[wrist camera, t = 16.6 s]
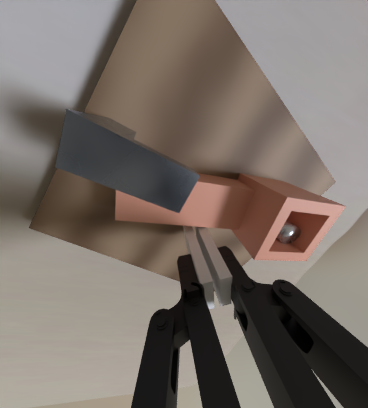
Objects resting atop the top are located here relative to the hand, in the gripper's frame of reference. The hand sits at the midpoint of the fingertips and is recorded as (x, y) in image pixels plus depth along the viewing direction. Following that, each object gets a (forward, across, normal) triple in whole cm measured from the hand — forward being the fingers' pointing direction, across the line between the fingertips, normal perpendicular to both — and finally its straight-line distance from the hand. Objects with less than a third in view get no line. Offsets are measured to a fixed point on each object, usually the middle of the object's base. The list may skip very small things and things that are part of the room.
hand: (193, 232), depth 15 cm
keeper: (+3, -3, +8) cm, 9 cm away
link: (+2, +2, +3) cm, 4 cm away
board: (+3, +1, +2) cm, 4 cm away
